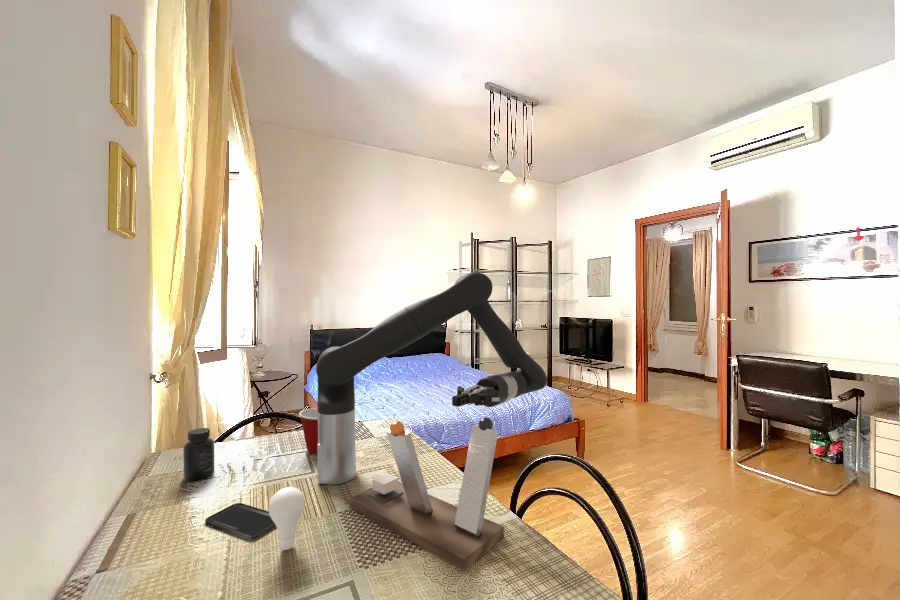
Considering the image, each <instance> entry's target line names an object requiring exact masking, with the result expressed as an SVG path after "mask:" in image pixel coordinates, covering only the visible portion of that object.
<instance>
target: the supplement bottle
mask: <svg viewBox="0 0 900 600" xmlns="http://www.w3.org/2000/svg"><path fill="white" fill-rule="evenodd" d="M210 431H211V430H210V428H208V427H200V428H199V427H198V428H194V429H191V430H189V431H187V442H186V443H185V444H184V445H183V447H182V448H183V449H182V453H183V454H182V455H183V456H182V457H183V458H182V459H183V461H182V462H183V463H182V464H183V468H182V469H183V480H185V481H186V482H190V483H193V481H195V482H199V480H200V481H203V479H204V480H206V479H209V478H210V477H212V476H213V475H214V473H215V441H214V440H213V438H211V433H210ZM208 477H209V478H208Z"/></svg>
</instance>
